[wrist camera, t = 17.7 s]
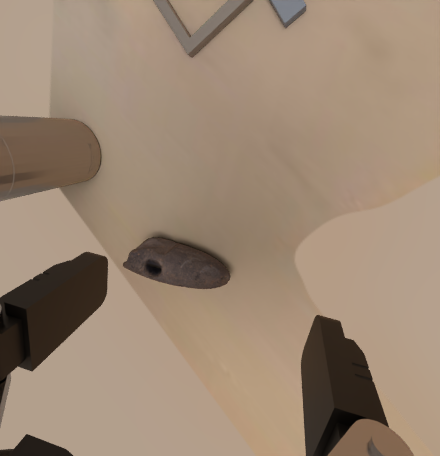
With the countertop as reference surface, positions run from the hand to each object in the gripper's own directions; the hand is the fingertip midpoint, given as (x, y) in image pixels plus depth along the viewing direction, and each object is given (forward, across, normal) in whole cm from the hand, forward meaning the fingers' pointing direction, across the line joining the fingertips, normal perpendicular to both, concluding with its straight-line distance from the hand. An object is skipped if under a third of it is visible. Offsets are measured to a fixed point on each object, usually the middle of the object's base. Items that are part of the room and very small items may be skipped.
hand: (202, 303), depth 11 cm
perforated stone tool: (+30, +9, +14) cm, 34 cm away
